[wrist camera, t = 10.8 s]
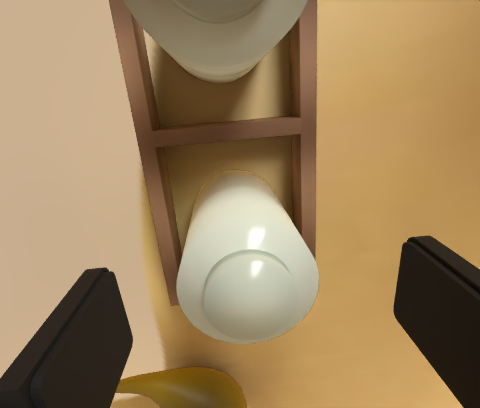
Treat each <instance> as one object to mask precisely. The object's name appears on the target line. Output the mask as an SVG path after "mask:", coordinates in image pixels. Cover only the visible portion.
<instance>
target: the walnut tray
mask: <svg viewBox="0 0 480 408" xmlns="http://www.w3.org/2000/svg"><path fill="white" fill-rule="evenodd" d="M109 3H110V8H111V13H112V18H113V23H114V28H115V33H116V38H117V43H118V48H119V52H120V58H121V63H122V67H123V72H124V77H125V82H126V87H127V92H128V97H129V101H130V107H131V112H132V117H133V121H134V127H135V132H136V136H137V141H138V146H139V151H140V156H141V161H142V166H143V171H144V176H145V181H146V186H147V191H148V196H149V200H150V205H151V210H152V215H153V220H154V225H155V230H156V235H157V240H158V245H159V250H160V255H161V260H162V265H163V269H164V274H165V279H166V284H167V289H168V294H169V299H170V304H171V306H174V305H179V301H178V297H177V290H176V286H177V277H178V272H179V268H180V264H181V259H182V251H181V246H180V240H179V234H178V228H177V223H176V217H175V211H174V205H173V200H172V194H171V188H170V182H169V177H168V171H167V165H166V159H165V154H164V148H163V147H167V146H178V145H188V144H199V143H209V142H220V141H231V140H241V139H252V138H262V137H273V136H284V135H292V178H293V224H294V226H295V227H296V229H297V231H298V232H299V234H300V235H301V237H302V239H303V240H304V242H305V244H306V245H307V247H308V248H309V250H310V252H311V253H312V255H313V257H314V259H315V238H316V96H317V0H109ZM143 29H144V30H145V31H146V32H147V33H148V34H149V35H150V36H151V37H152V38H153V39H154V40H155V41H156V42H157V43H158V44H159V45H160V46H161V47H162V48H163V49H164V50H165V51H166V52H167V53H168V54H169V55H170V56H171V57H172V58H174V59H175V60H176V61H177V62H178V63H179V64H180V65H181V66H182V67H183V68H184V69H185V70H186V71H187V72H188V73H190V74H191V75H193V76H194V77H196V78H198V79H200V80H202V81H206V82H209V83H228V82H231V81H235V80H237V79H239V78H241V77H242V76H244V75H246V74H247V73H248V72H249V71H250V70H251V69H252V68H253V67H254V66H255V65H256V64H257V63H258V62H259V61H260V60H261V59H262V58H263V57H264V56H265V55H266V54H267V53H268V52H269V51H270V50H271V49H272V48H273V47H274V46H275V45H276V44H277V43H278V42H279V41H280V40H281V39H282V38H283V37H284V36H285V35H286V34H287V33H288V31H289V40H290V86H291V116H284V117H273V118H262V119H251V120H240V121H229V122H218V123H207V124H197V125H186V126H175V127H164V128H160V125H159V119H158V113H157V108H156V102H155V96H154V90H153V85H152V79H151V73H150V67H149V62H148V56H147V50H146V44H145V39H144V33H143Z"/></svg>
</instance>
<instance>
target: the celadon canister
mask: <svg viewBox="0 0 480 408" xmlns="http://www.w3.org/2000/svg"><path fill="white" fill-rule="evenodd" d="M318 286H319V273H318V268H317V264H316V262H315V259H314V257H313V255H312V253H311V252H310V250H309V248H308V247H307V245H306V244H305V242H304V240H303V239H302V237H301V235H300V234H299V232H298V231H297V229H296V227H295V226H294V224H293V222H292V221H291V219H290V217H289V216H288V214H287V213H286V211H285V209H284V208H283V206H282V204H281V203H280V201H279V200H278V198H277V196H276V195H275V193H274V191H273V190H272V188H271V187H270V185H269V184H268V183H267V182H266V181H265V180H264V179H263V178H261V177H260V176H258V175H256V174H254V173H252V172H249V171H245V170H229V171H225V172H221V173H219V174H217V175H215V176H213V177H212V178H210V179H209V180H208V181H207V182H206V183H205V184H204V185H203V186H202V188H201V189H200V191H199V193H198V195H197V197H196V201H195V205H194V209H193V213H192V217H191V222H190V226H189V230H188V234H187V238H186V243H185V247H184V251H183V255H182V259H181V264H180V268H179V272H178V277H177V286H176V290H177V297H178V301H179V305H180V307H181V309H182V311H183V313H184V314H185V316H186V318H187V319H188V320H189V321H190V322H191V324H192V325H194V326H195V327H196V328H197V329H198V330H200V331H201V332H203V333H204V334H206V335H208V336H210V337H212V338H214V339H217V340H219V341H223V342H227V343H234V344H254V343H260V342H264V341H268V340H271V339H274V338H276V337H279V336H280V335H282V334H284V333H286V332H288V331H289V330H291V329H292V328H294V327H295V326H296V325H297V324H298V323H299V322H300V321H301V320H302V319H303V318H304V317H305V316H306V315H307V313H308V312H309V311H310V309H311V307H312V305H313V303H314V301H315V298H316V296H317V292H318Z"/></svg>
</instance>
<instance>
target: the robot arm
mask: <svg viewBox="0 0 480 408" xmlns="http://www.w3.org/2000/svg"><path fill="white" fill-rule="evenodd" d="M394 315H395V317H396V319H397V321H398V322H399V323H400V325H401V326H402V327H403V329H404V330H405V331H406V333H407V334H408V335H409V337H410V338H411V339H412V340H413V342H414V343H415V344H416V346H417V347H418V348H419V350H420V351H421V352H422V354H423V355H424V356H425V358H426V359H427V360H428V361H429V363H430V364H431V365H432V367H433V368H434V369H435V371H436V372H437V373H438V375H439V376H440V377H441V379H442V380H443V381H444V382H445V384H446V385H447V386H448V388H449V389H450V390H451V392H452V393H453V394H454V396H455V397H456V398H457V400H458V401H459V402H460V403H461V405H462V406H463V407H464V408H480V270H479V269H478V268H477V267H475V266H474V265H472V264H471V263H469V262H468V261H466V260H465V259H464V258H462V257H461V256H459V255H458V254H456V253H455V252H453V251H452V250H451V249H449V248H448V247H446V246H445V245H443V244H442V243H440V242H439V241H437V240H436V239H435V238H433V237H431V236H419V237H410V238H409V239H408V240H407V242H405V243H404V244H403V246H402V252H401V259H400V266H399V273H398V280H397V287H396V294H395V301H394ZM132 343H133V337H132V332H131V329H130V325H129V322H128V319H127V315H126V312H125V308H124V305H123V301H122V298H121V294H120V291H119V287H118V284H117V281H116V277H115V274H114V273H113V272H109V270H108V269H107V268H95V269H87V270H85V271H84V273H83V274H82V275H81V276H80V277H79V279H78V280H77V281H76V283H75V284H74V285H73V286H72V288H71V289H70V290H69V291H68V293H67V294H66V295H65V297H64V298H63V299H62V300H61V302H60V303H59V304H58V306H57V307H56V308H55V309H54V311H53V312H52V313H51V314H50V316H49V317H48V318H47V320H46V321H45V322H44V323H43V325H42V326H41V327H40V328H39V330H38V331H37V332H36V334H35V335H34V336H33V338H32V339H31V340H30V341H29V342H28V344H27V345H26V346H25V348H24V349H23V350H22V352H21V353H20V354H19V355H18V357H17V358H16V359H15V360H14V362H13V363H12V364H11V365H10V367H9V368H8V370H6V372H5V373H4V374H3V376H2V377H1V378H0V408H110V406H111V403H112V400H113V398H114V395H115V392H116V389H117V387H118V384H119V381H120V378H121V376H122V372H123V370H124V367H125V365H126V362H127V359H128V356H129V354H130V351H131V348H132Z"/></svg>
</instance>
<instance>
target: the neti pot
mask: <svg viewBox="0 0 480 408" xmlns="http://www.w3.org/2000/svg"><path fill="white" fill-rule="evenodd" d="M115 393H133V394H141V395H144V396H147V397H149V398H151V399H152V400H154V401H155V402H156V403H157V404H158V405H159V406H160V407H161V408H247V404H246V400H245V397H244V394H243V391H242V388H241V387H240V386H239V385H238V384H237V383H236V382H235V381H234V380H233V379H232V378H231V377H230V376H229V375H227V374H225V373H223V372H221V371H218V370H215V369H212V368H205V367H185V368H178V369H171V370H165V371H159V372H153V373H148V374H142V375H137V376H133V377H128V378H126V379H122V380H120V381H119V384H118V387H117V389H116V392H115Z"/></svg>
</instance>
